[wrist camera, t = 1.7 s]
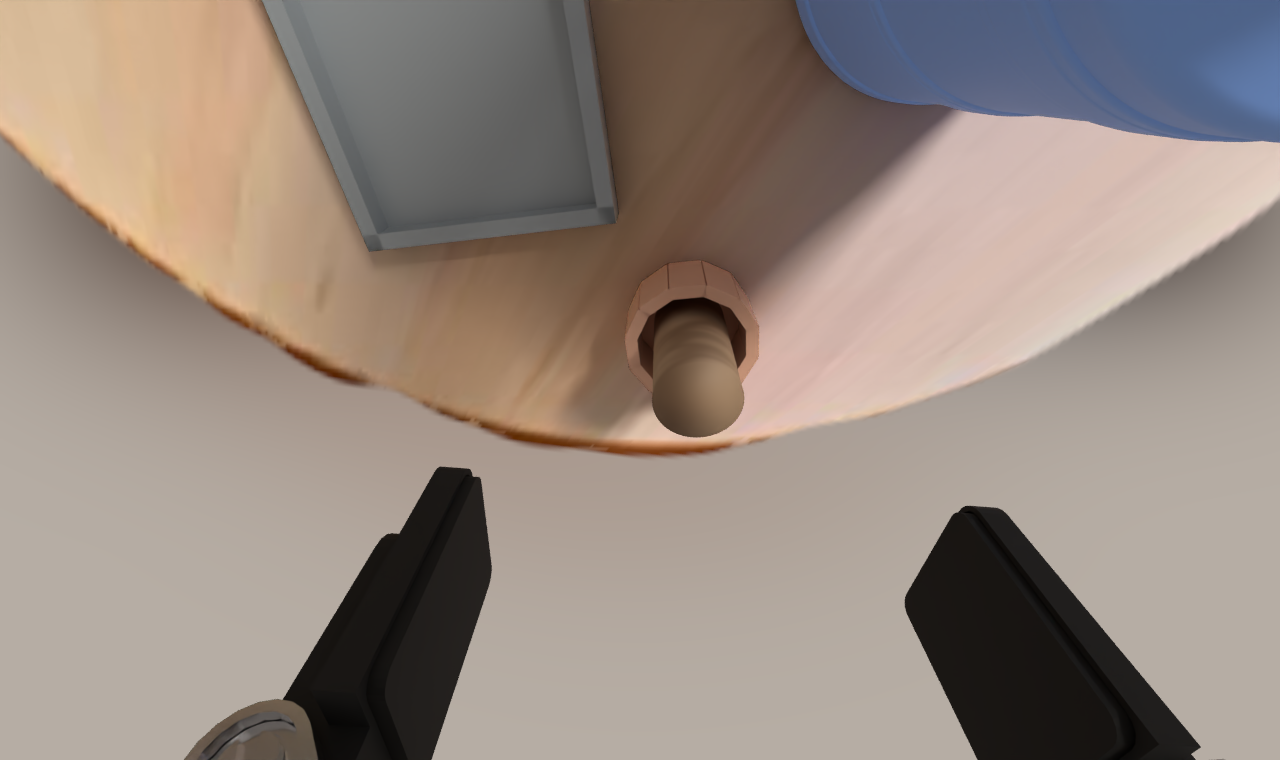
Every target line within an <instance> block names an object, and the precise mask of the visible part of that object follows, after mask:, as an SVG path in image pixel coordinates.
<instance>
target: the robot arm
mask: <svg viewBox="0 0 1280 760" xmlns="http://www.w3.org/2000/svg"><path fill="white" fill-rule="evenodd" d="M491 571H492V565H491V557H490V549H489V541H488V533H487V525H486V517H485V510H484V500H483V493H482V484H481V479H480V478H479V477H473V476H472V472H471V470H470V469H464V468H451V467H439V468H437V469H436V471H435V472H434V474H433V476H432V477H431V479H430V481H429V483H428V484H427V486H426V488H425V490H424V491H423V493H422V495H421V497H420V499H419V500H418V502H417V504H416V506H415V507H414V509H413V511H412V513H411V514H410V516H409V518H408V520H407V521H406V523H405V525H404V527H403V528H402V530H401V532H400V534H393V533H391V534H387V535H385V536H384V537H383V538H381V540H380V541H379V543H378V544H377V545H376V547H375V548H374V550H373V552H372V553H371V555H370V557H369V558H368V560H367V562H366V563H365V565H364V566H363V568H362V570H361V571H360V573H359V575H358V576H357V578H356V580H355V581H354V583H353V585H352V586H351V588H350V590H349V591H348V593H347V595H346V596H345V598H344V600H343V602H342V603H341V604H340V606H339V608H338V609H337V611H336V613H335V614H334V616H333V618H332V619H331V621H330V623H329V624H328V626H327V628H326V629H325V631H324V632H323V634H322V636H321V638H320V639H319V641H318V643H317V644H316V646H315V647H314V649H313V651H312V652H311V654H310V656H309V657H308V660H307V661H306V662H305V664H304V666H303V667H302V669H301V670H300V672H299V674H298V675H297V677H296V679H295V680H294V682H293V684H292V685H291V687H290V689H289V690H288V692H287V694H286V696H285V697H284V698H283V700H280V699H274V700H268V701H262V702H258V703H255V704H253V705H250V706H248V707H245V708H243V709H241V710H238V711H237V712H235V713H233V714H232V715H230V716H229V717H227V718H226V719H224V720H223V721H221V722H220V723H218V724H217V725H216V726H215V727H214V728H212V729H211V730H210V731H209V732H208V733H207V734H206V735H205V736H204V737H202V738H201V739H200V740H199V741H198V742H197V743H196V745H195V746H194V747H193V748H192V750H191V751H190V752H189V754H188V755H187V756H186V758H185V759H184V760H431V759H432V756H433V753H434V750H435V747H436V744H437V741H438V738H439V735H440V732H441V729H442V726H443V723H444V720H445V717H446V714H447V711H448V708H449V705H450V702H451V699H452V696H453V693H454V690H455V687H456V684H457V680H458V678H459V674H460V672H461V668H462V665H463V662H464V659H465V656H466V653H467V650H468V647H469V644H470V641H471V638H472V635H473V632H474V629H475V626H476V623H477V620H478V617H479V614H480V611H481V608H482V605H483V602H484V599H485V596H486V593H487V590H488V587H489V583H490V578H491ZM905 608H906V612H907V615H908V617H909V619H910V621H911V623H912V625H913V627H914V630H915V632H916V634H917V636H918V638H919V639H920V642H921V644H922V646H923V648H924V650H925V652H926V654H927V656H928V658H929V661H930V663H931V665H932V666H933V669H934V671H935V673H936V675H937V677H938V679H939V681H940V683H941V685H942V687H943V689H944V691H945V694H946V696H947V698H948V699H949V702H950V704H951V706H952V708H953V710H954V712H955V714H956V716H957V718H958V720H959V722H960V724H961V727H962V729H963V731H964V733H965V735H966V737H967V739H968V741H969V743H970V745H971V747H972V749H973V751H974V753H975V755H976V758H977V759H978V760H1195V758H1194V757H1193V756H1192V755H1191V754H1192V753H1193V752H1195V751H1196V750H1197V749H1199V748H1200V745H1199V744H1198V743H1197V742H1196V741H1195V739H1194V738H1193V737H1192V736H1191V735H1190V733H1189V732H1188V731H1187V730H1186V729H1185V727H1184V726H1183V725H1182V724H1181V723H1180V721H1179V720H1178V719H1177V718H1176V717H1175V715H1174V714H1173V713H1172V712H1171V711H1170V710H1169V708H1168V707H1167V706H1166V705H1165V703H1164V702H1163V701H1162V700H1161V699H1160V697H1159V696H1158V695H1157V694H1156V693H1155V692H1154V690H1153V689H1152V688H1151V687H1150V685H1149V684H1148V683H1147V682H1146V681H1145V679H1144V678H1143V677H1142V676H1141V675H1140V673H1139V672H1138V671H1137V670H1136V669H1135V667H1134V666H1133V665H1132V664H1131V663H1130V661H1129V660H1128V659H1127V658H1126V657H1125V655H1124V654H1123V653H1122V652H1121V651H1120V649H1119V648H1118V647H1117V646H1116V645H1115V643H1114V642H1113V641H1112V640H1111V639H1110V637H1109V636H1108V635H1107V634H1106V633H1105V632H1104V630H1103V629H1102V628H1101V627H1100V625H1099V624H1098V623H1097V622H1096V621H1095V619H1094V618H1093V617H1092V616H1091V615H1090V613H1089V612H1088V611H1087V610H1086V609H1085V607H1084V606H1083V605H1082V604H1081V603H1080V601H1079V600H1078V599H1077V598H1076V597H1075V595H1074V594H1073V593H1072V592H1071V591H1070V589H1069V588H1068V587H1067V586H1066V585H1065V584H1064V582H1063V581H1062V580H1061V579H1060V577H1059V576H1058V575H1057V574H1056V573H1055V572H1054V570H1053V569H1052V568H1051V567H1050V565H1049V564H1048V563H1047V562H1046V561H1045V559H1044V558H1043V557H1042V556H1041V555H1040V554H1039V552H1038V551H1037V550H1036V549H1035V547H1034V546H1033V545H1032V544H1031V543H1030V541H1029V540H1028V539H1027V538H1026V537H1025V535H1024V534H1023V533H1022V532H1021V531H1020V529H1019V528H1018V527H1017V526H1016V525H1015V523H1014V522H1013V521H1012V520H1011V519H1010V517H1009V516H1008V515H1007V514H1006V513H1005V512H1004V511H1003V510H1001V509H998V508H991V507H977V506H965V507H963V508H961V510H960V511H959V512H958V513H955V514H953V516H952V517H951V519H950V520H949V522H948V524H947V525H946V527H945V529H944V530H943V532H942V534H941V536H940V537H939V539H938V541H937V543H936V544H935V546H934V548H933V549H932V551H931V553H930V555H929V556H928V558H927V560H926V562H925V563H924V565H923V567H922V568H921V570H920V572H919V574H918V576H917V577H916V579H915V580H914V582H913V584H912V586H911V587H910V589H909V591H908V592H907V594H906V597H905ZM1218 760H1224V759H1218Z"/></svg>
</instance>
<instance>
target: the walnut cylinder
mask: <svg viewBox="0 0 1280 760" xmlns="http://www.w3.org/2000/svg"><path fill="white" fill-rule="evenodd" d="M652 403H653V410H654V412H655V415H656V417H657V418H658V420H659V421H660V422H661V423H662V424H663V425H664V426H665V427H666V428H667V429H669V430H670V431H672V432H674V433H676V434H679V435H682V436H687V437H706V436H711V435H714V434H717V433H719V432H721V431H723V430H725V429H727V428H728V427H729V426H731V425H732V424H733V423H734V422H735V421H736V419H737V418H738V417H739V415H740V413H741V411H742V409H743V405H744V392H743V388H742V384H741V380H740V376H739V373H738V369H737V365H736V361H735V357H734V353H733V349H732V346H731V342H730V338H729V334H728V330H727V326H726V322H725V319H724V315H723V311H722V308H721V306H720V305H719V303H717V302H715V301H712V300H710V299H707V298H705V297H697V298H687V299H677V300H672V301H671V302H669V303H668V304H666V305H665V306H663V307H662V308H660V309H659V310H657V311H656V314H655V320H654V355H653V394H652Z"/></svg>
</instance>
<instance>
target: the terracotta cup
mask: <svg viewBox="0 0 1280 760" xmlns="http://www.w3.org/2000/svg"><path fill="white" fill-rule="evenodd" d="M697 297H705V298H707V299H710V300H712V301H715V302H717V303H719V305H720V306H721V308H722V311H723V315H724V319H725V322H726V326H727V330H728V334H729V338H730V342H731V346H732V349H733V353H734V357H735V361H736V365H737V369H738V373H739V376H740V380H741V384H742V382H743V381H744V379H745V378H746V376H747V375H748V373H749V372H750V370H751V368H752V367H753V365H754V364H755V362H756V361H757V359H758V357H759V326H758V323H757V320H756V318H755V315H754V313H753V310H752V307H751V305H750V302H749V300H748V297H747V296H746V294H745V293H744V291H743V290H742V288H741V287H740V285H739V284H738V282H737V281H736V280H735V278H734V277H733V275H732V274H731V273H730V272H728V271H726V270H723V269H721V268H719V267H716V266H714V265H712V264H710V263H707V262H705V261H703V260H702V261H701V260H695V261H685V262H676V263H668V265H667V264H666V265H665V266H663V267H662V268H660V269H659V270H657V271H656V272H655V273H653V274H652V275H650V276H649V277H647V278H646V279H645V280H643V281H642V282H641V283H640V285H639V287H638V289H637V292H636V294H635V296H634V298H633V301H632V303H631V305H630V307H629V310H628V317H627V325H626V332H625V345H626V352H627V358H628V365H629V368H630V370H631V371H632V373H633V374H634V375H635V376H636V377H637V378H638V379H639V381H640V382H641V383H642V384H643V385H644V386H645V387H646V388H647V390H648V391H650V392H651V393H653V355H654V320H655V314H656V311H657V310H659V309H660V308H662V307H663V306H665V305H666V304H668V303H669V302H671V301H672V300H677V299H687V298H697Z"/></svg>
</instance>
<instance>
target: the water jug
mask: <svg viewBox="0 0 1280 760" xmlns="http://www.w3.org/2000/svg"><path fill="white" fill-rule="evenodd" d="M795 1H796V5H797V9H798V12H799V15H800V18H801V21H802V24H803V26H804V29H805V31H806V33H807V36H808V38H809V40H810V42H811V43H812V45H813V47H814V49H815V50H816V52H817V53H818V55H819V56H820V58H821V59H822V60H823V62H824V63H825V64H826V65H827V66H828V67H829V69H830V70H831V71H832V72H833V73H834V74H835V75H837V76H838V77H839V78H840V79H841V80H842V81H844V82H845V83H846V84H848V85H849V86H851V87H853V88H854V89H856V90H858V91H860V92H862V93H864V94H866V95H868V96H871V97H874V98H877V99H880V100H884V101H889V102H895V103H902V104H911V105H934V104H940V105H944V106H947V107H950V108H954V109H957V110H962V111H967V112H973V113H980V114H988V115H996V116H1045V117H1054V118H1062V119H1071V120H1080V121H1089V122H1091V123H1095V124H1098V125H1102V126H1105V127H1110V128H1113V129H1117V130H1122V131H1126V132H1132V133H1138V134H1146V135H1154V136H1162V137H1170V138H1178V139H1186V140H1197V141H1223V142H1252V141H1267V142H1279V143H1280V0H795Z"/></svg>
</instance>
